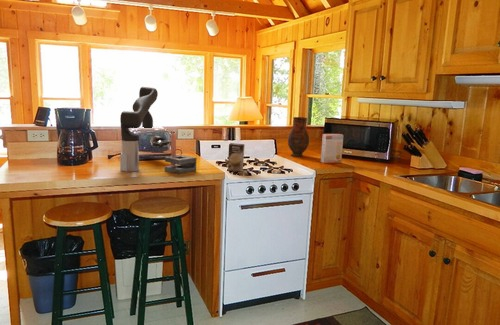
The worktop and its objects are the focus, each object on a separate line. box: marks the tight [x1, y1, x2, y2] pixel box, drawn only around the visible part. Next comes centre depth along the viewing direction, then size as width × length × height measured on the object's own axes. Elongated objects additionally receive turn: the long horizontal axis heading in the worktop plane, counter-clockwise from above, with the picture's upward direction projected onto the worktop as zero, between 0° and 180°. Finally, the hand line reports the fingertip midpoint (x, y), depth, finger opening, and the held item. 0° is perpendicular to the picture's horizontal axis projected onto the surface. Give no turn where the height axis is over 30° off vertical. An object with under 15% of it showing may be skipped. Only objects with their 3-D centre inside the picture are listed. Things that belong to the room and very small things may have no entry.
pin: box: [170, 133, 177, 166], centre depth 229 cm, size 3×3×20 cm
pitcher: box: [287, 116, 310, 158], centre depth 291 cm, size 17×21×30 cm
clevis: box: [164, 154, 197, 175], centre depth 218 cm, size 14×12×8 cm
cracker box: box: [320, 133, 344, 164], centre depth 269 cm, size 14×6×21 cm, turn 108°
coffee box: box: [227, 142, 245, 172], centre depth 228 cm, size 9×6×16 cm
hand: (168, 145), depth 233 cm, fingers open, 8 cm apart
